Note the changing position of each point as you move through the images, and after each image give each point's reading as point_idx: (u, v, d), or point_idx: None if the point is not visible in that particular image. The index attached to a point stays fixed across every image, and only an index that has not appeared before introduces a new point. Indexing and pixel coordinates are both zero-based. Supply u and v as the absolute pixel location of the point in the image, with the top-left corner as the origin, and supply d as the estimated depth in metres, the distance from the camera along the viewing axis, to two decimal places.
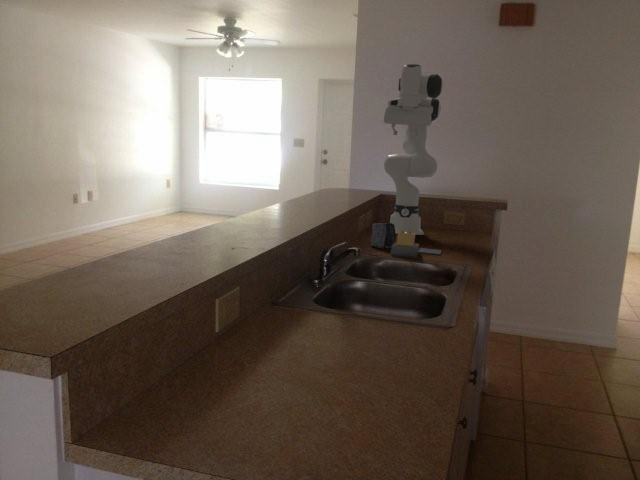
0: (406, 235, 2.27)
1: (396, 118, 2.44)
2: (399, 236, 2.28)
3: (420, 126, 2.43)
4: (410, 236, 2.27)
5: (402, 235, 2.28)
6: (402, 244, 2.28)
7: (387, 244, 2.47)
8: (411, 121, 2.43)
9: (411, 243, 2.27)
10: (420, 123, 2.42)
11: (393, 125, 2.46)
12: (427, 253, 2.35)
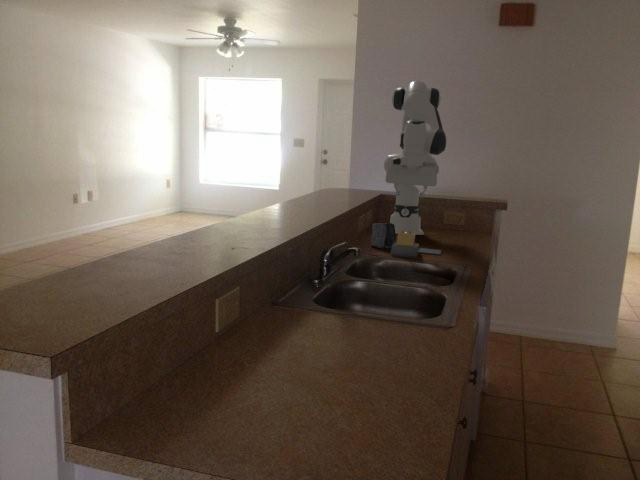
0: (406, 235, 2.27)
1: (399, 178, 2.26)
2: (399, 236, 2.28)
3: (425, 187, 2.25)
4: (410, 236, 2.27)
5: (402, 235, 2.28)
6: (402, 244, 2.28)
7: (387, 244, 2.47)
8: (415, 182, 2.24)
9: (411, 243, 2.27)
10: (425, 183, 2.24)
11: (396, 185, 2.27)
12: (427, 253, 2.35)
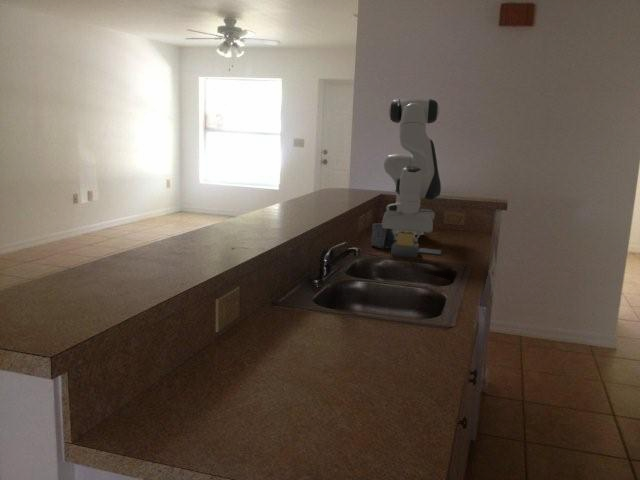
0: (406, 235, 2.27)
1: (395, 224, 2.29)
2: (399, 236, 2.28)
3: (419, 232, 2.28)
4: (410, 236, 2.27)
5: (402, 235, 2.28)
6: (402, 244, 2.28)
7: (387, 244, 2.47)
8: (411, 228, 2.28)
9: (411, 243, 2.27)
10: (421, 229, 2.27)
11: (394, 230, 2.31)
12: (427, 253, 2.35)
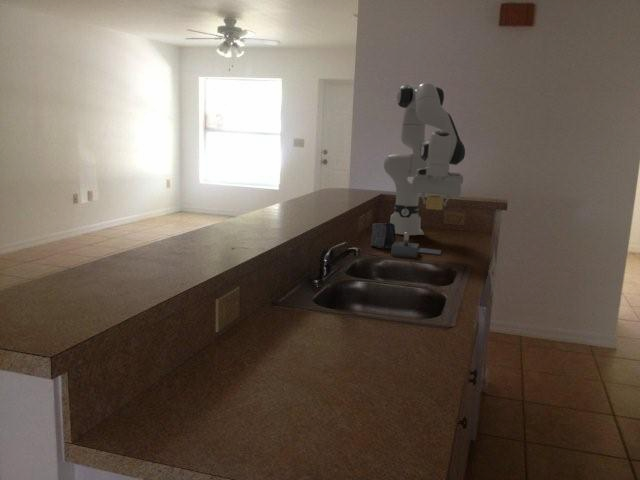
0: (435, 198, 2.32)
1: (424, 188, 2.34)
2: (428, 200, 2.33)
3: (447, 196, 2.33)
4: (439, 199, 2.32)
5: (431, 198, 2.32)
6: (431, 207, 2.33)
7: (387, 244, 2.47)
8: (440, 191, 2.32)
9: (440, 206, 2.32)
10: (450, 193, 2.32)
11: (423, 194, 2.35)
12: (427, 253, 2.35)
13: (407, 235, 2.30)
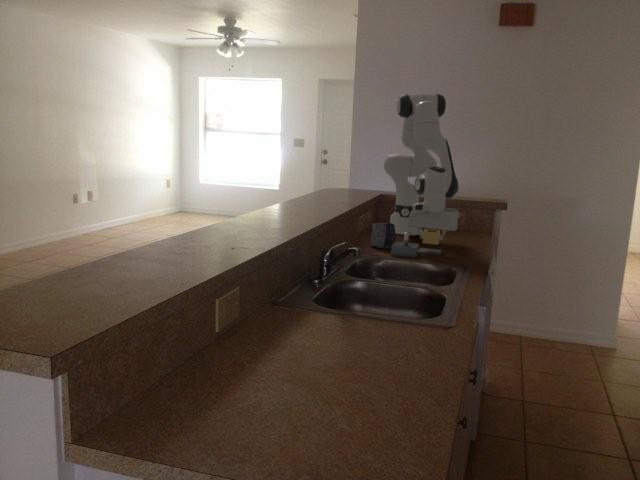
0: (432, 233, 2.34)
1: (420, 222, 2.36)
2: (425, 234, 2.35)
3: (444, 231, 2.35)
4: (435, 234, 2.34)
5: (428, 233, 2.35)
6: (428, 242, 2.35)
7: (387, 244, 2.47)
8: (436, 226, 2.35)
9: (436, 241, 2.34)
10: (446, 228, 2.34)
11: (419, 229, 2.38)
12: (427, 253, 2.35)
13: (407, 235, 2.30)
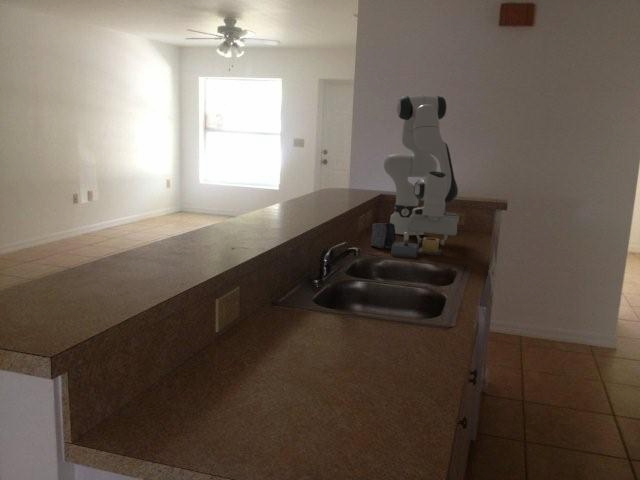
0: (431, 242, 2.35)
1: (420, 227, 2.37)
2: (424, 243, 2.36)
3: (445, 235, 2.36)
4: (435, 243, 2.35)
5: (427, 242, 2.36)
6: (427, 250, 2.36)
7: (387, 244, 2.47)
8: (436, 231, 2.35)
9: (436, 249, 2.35)
10: (446, 232, 2.35)
11: (417, 233, 2.38)
12: (427, 253, 2.35)
13: (407, 235, 2.30)
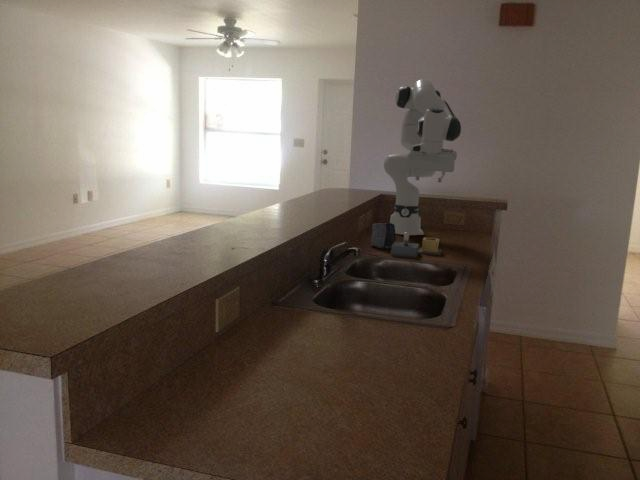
0: (431, 242, 2.35)
1: (418, 164, 2.38)
2: (424, 243, 2.36)
3: (443, 172, 2.37)
4: (435, 243, 2.35)
5: (427, 242, 2.36)
6: (427, 250, 2.36)
7: (387, 244, 2.47)
8: (433, 167, 2.37)
9: (436, 249, 2.35)
10: (444, 169, 2.36)
11: (415, 170, 2.40)
12: (427, 253, 2.35)
13: (407, 235, 2.30)
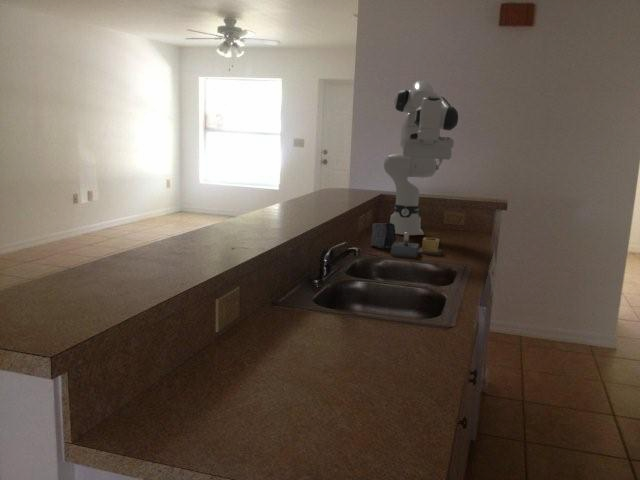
0: (431, 242, 2.35)
1: (415, 152, 2.41)
2: (424, 243, 2.36)
3: (440, 160, 2.39)
4: (435, 243, 2.35)
5: (427, 242, 2.36)
6: (427, 250, 2.36)
7: (387, 244, 2.47)
8: (431, 155, 2.39)
9: (436, 249, 2.35)
10: (441, 156, 2.38)
11: (412, 158, 2.42)
12: (427, 253, 2.35)
13: (407, 235, 2.30)
